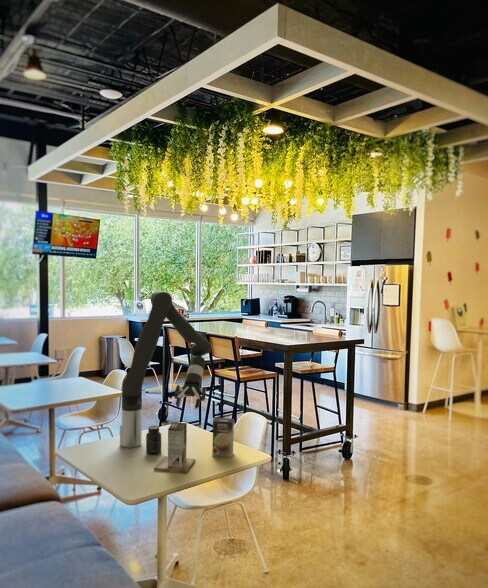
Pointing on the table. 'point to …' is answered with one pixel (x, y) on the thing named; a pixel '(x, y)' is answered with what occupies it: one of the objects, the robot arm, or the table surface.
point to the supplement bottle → (153, 441)
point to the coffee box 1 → (177, 444)
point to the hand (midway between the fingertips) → (186, 407)
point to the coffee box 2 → (223, 437)
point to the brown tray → (164, 467)
